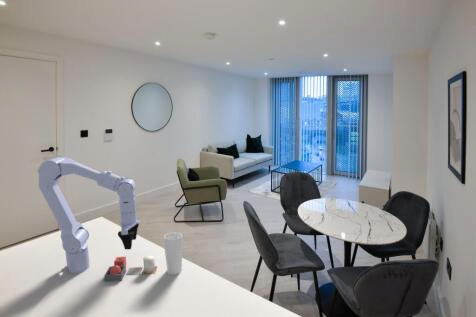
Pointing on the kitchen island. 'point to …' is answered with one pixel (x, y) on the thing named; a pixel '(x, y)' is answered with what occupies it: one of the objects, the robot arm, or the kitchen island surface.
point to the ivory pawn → (149, 264)
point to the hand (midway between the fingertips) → (130, 244)
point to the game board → (138, 271)
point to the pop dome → (115, 270)
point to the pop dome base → (115, 276)
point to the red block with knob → (120, 261)
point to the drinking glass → (173, 252)
